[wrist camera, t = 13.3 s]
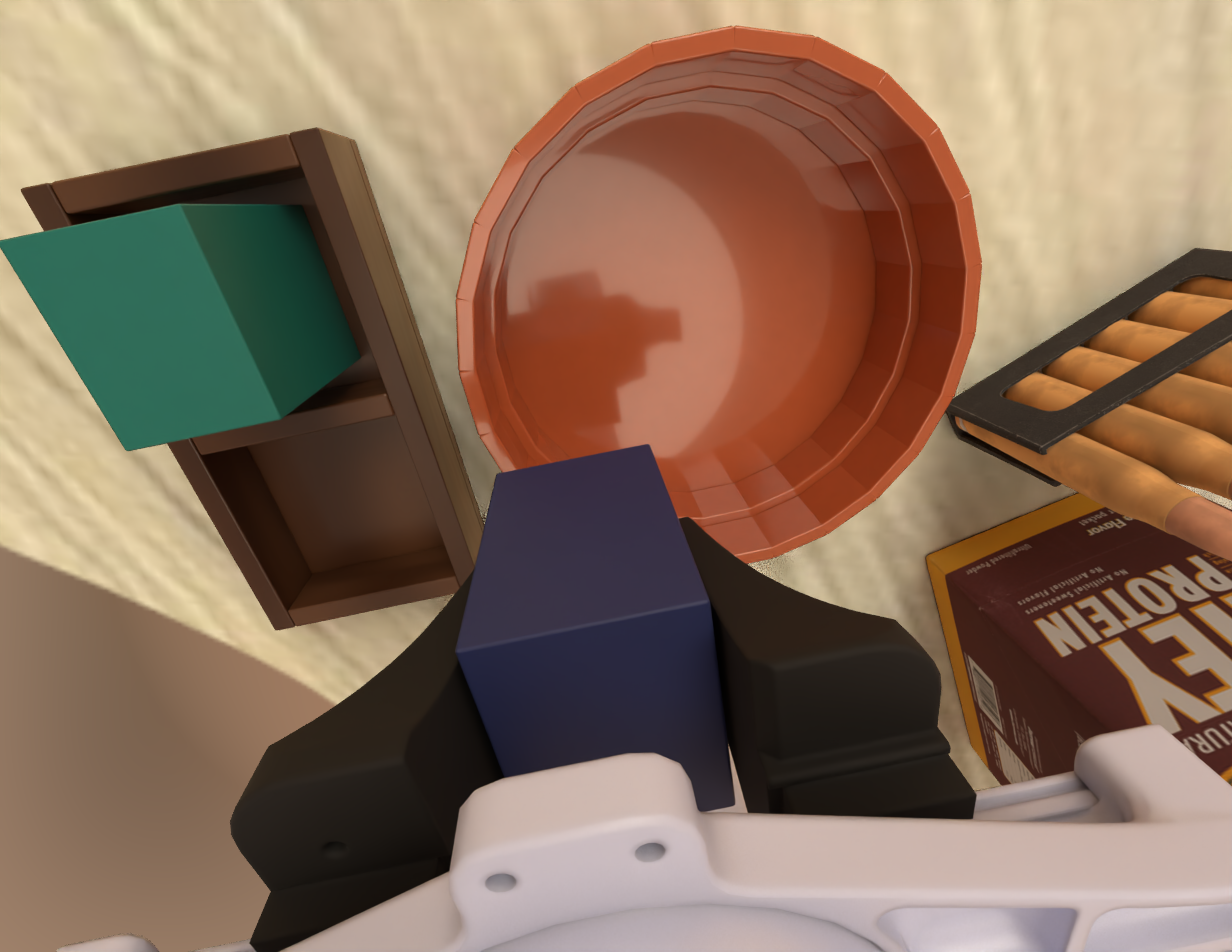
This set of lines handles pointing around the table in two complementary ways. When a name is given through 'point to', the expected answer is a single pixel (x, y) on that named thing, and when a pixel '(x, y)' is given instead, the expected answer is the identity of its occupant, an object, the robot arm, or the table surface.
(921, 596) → the table surface
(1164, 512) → the ammunition clip
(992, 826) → the robot arm
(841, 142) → the bowl
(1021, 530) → the supplement box
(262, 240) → the green rectangular block
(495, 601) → the dark blue rectangular block
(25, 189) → the holder
